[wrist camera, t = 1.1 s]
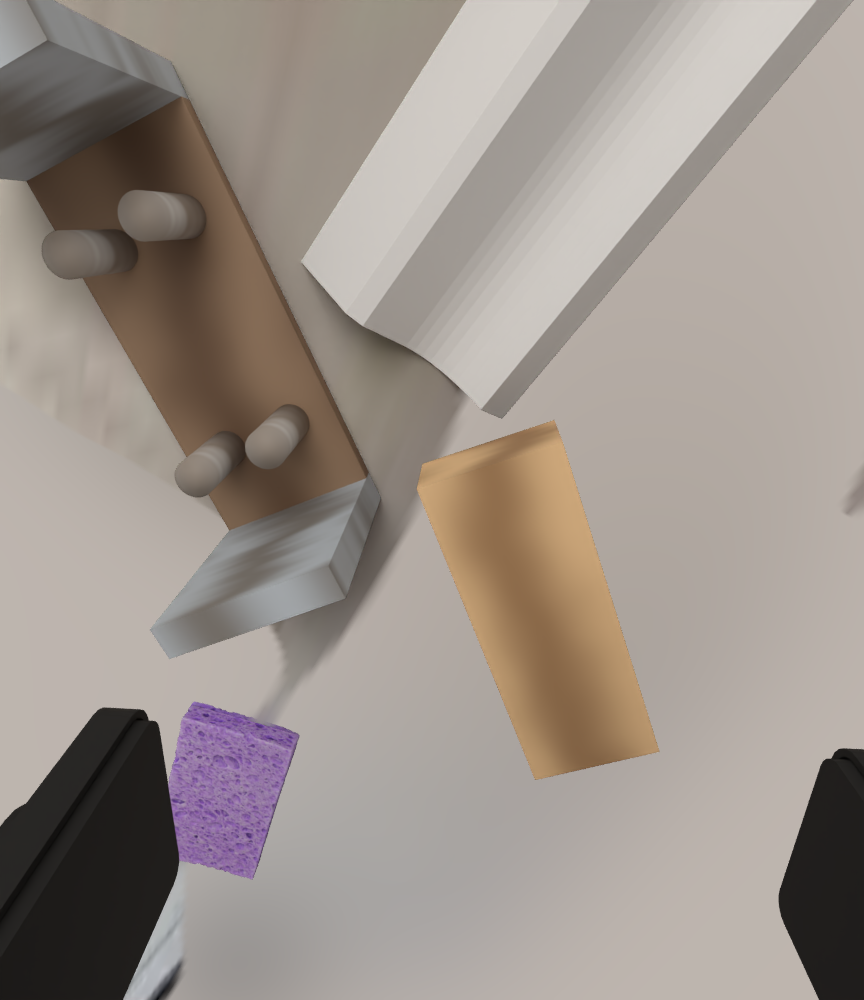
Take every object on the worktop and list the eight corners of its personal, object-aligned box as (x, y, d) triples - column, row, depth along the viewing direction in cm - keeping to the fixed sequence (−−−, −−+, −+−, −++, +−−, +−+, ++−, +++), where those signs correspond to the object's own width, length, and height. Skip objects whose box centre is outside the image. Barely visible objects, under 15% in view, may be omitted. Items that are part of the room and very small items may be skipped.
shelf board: (554, 419, 28) (562, 441, 25) (644, 708, 34) (659, 751, 31) (422, 464, 29) (416, 489, 27) (530, 735, 35) (535, 779, 32)
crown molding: (498, 410, 33) (500, 432, 30) (298, 255, 31) (276, 260, 28) (1093, -303, 22) (1202, -395, 19) (851, -622, 20) (925, -790, 17)
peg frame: (170, 61, 27) (15, -20, 18) (380, 497, 34) (345, 598, 25) (17, 147, 29) (-196, 113, 20) (248, 547, 36) (169, 658, 27)
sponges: (301, 729, 41) (294, 751, 40) (260, 861, 46) (251, 886, 45) (192, 696, 41) (180, 717, 39) (162, 833, 46) (150, 857, 44)
